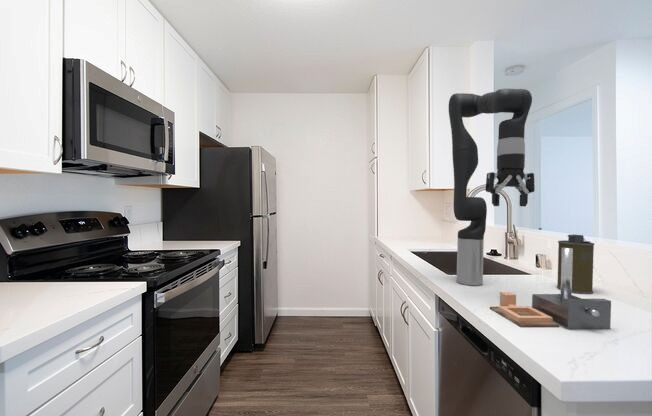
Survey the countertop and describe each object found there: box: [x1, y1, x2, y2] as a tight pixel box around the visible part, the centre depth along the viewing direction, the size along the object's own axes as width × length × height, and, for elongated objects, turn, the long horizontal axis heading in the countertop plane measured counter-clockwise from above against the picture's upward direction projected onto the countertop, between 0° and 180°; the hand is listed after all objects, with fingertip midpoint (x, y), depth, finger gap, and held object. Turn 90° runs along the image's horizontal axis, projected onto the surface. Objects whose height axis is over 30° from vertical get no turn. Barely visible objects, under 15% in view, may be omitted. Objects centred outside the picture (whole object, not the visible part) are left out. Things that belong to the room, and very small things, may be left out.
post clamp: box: [531, 248, 612, 330], centre depth 86 cm, size 15×11×19 cm
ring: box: [497, 291, 553, 322], centre depth 89 cm, size 14×9×4 cm, turn 2°
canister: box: [556, 234, 595, 295], centre depth 117 cm, size 11×10×20 cm
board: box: [489, 306, 560, 328], centre depth 88 cm, size 14×10×1 cm
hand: (509, 206), depth 101 cm, fingers open, 8 cm apart
